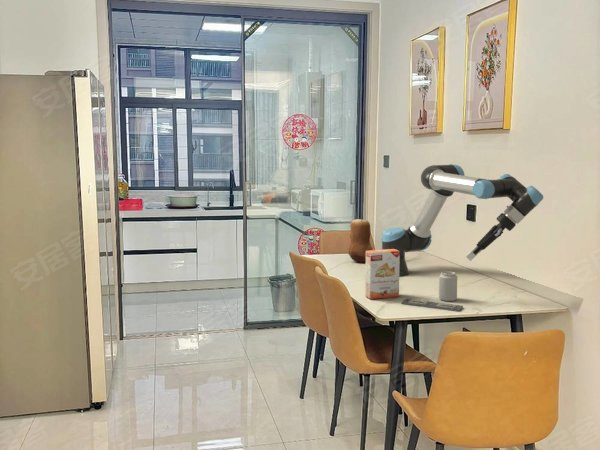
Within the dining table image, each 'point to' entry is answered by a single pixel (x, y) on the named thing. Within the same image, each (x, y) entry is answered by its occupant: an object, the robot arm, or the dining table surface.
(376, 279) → the cracker box
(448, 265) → the dining table surface
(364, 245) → the butternut squash
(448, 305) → the panel
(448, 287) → the can
